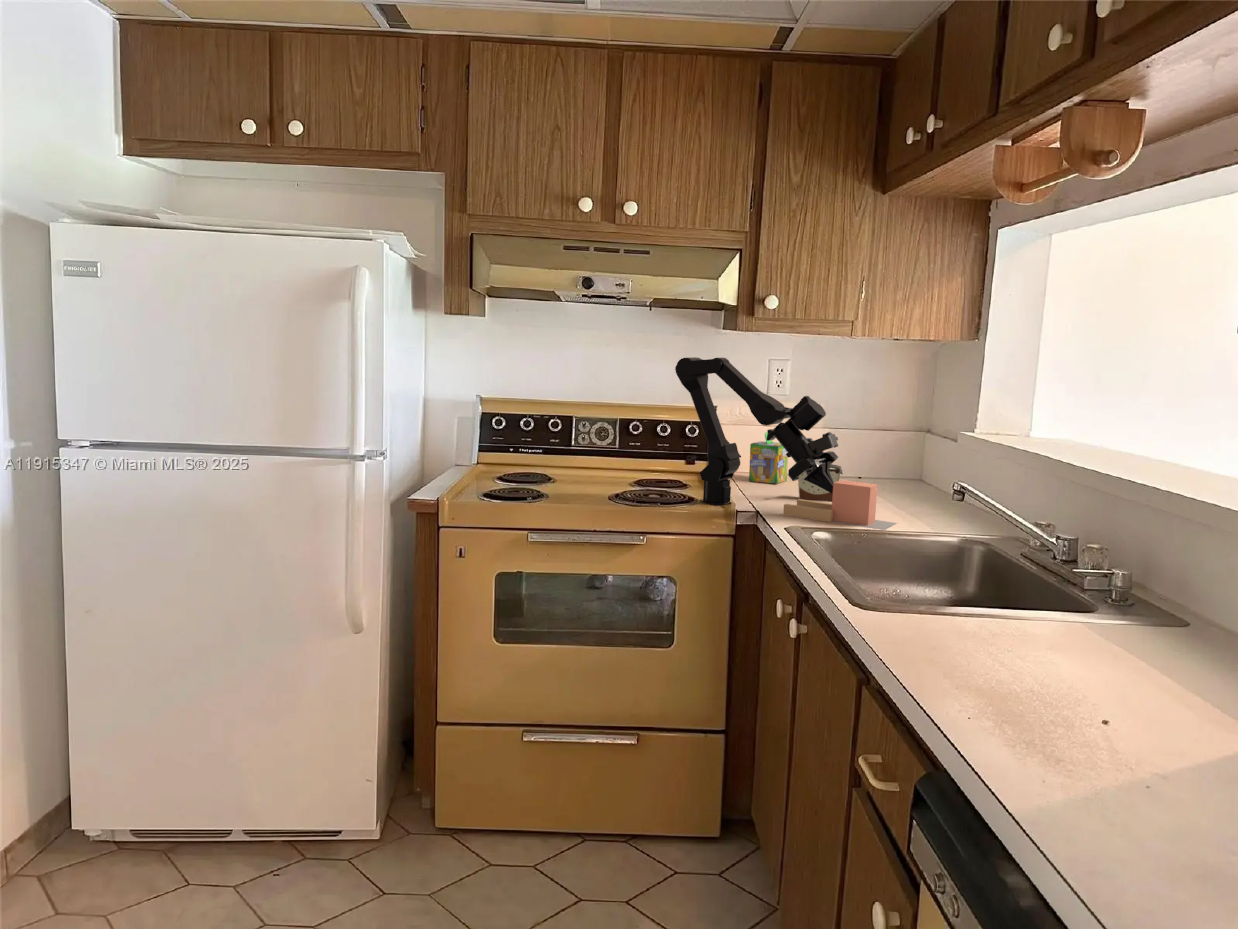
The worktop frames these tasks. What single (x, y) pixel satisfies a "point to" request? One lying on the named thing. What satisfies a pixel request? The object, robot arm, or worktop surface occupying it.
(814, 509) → the chute
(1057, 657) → the worktop surface
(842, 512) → the block
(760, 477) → the chalk box
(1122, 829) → the worktop surface
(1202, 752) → the worktop surface
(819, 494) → the food container
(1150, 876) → the worktop surface
